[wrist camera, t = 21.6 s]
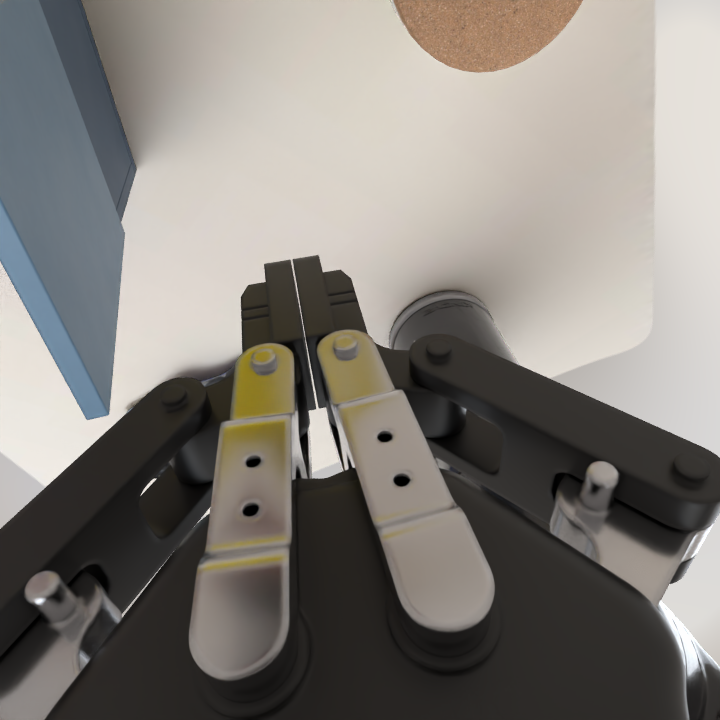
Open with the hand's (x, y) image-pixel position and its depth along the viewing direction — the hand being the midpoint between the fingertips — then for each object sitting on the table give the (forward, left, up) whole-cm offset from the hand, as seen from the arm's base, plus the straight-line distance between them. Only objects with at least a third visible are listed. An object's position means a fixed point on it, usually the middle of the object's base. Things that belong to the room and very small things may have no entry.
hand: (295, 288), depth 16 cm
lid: (0, +9, -9) cm, 13 cm away
